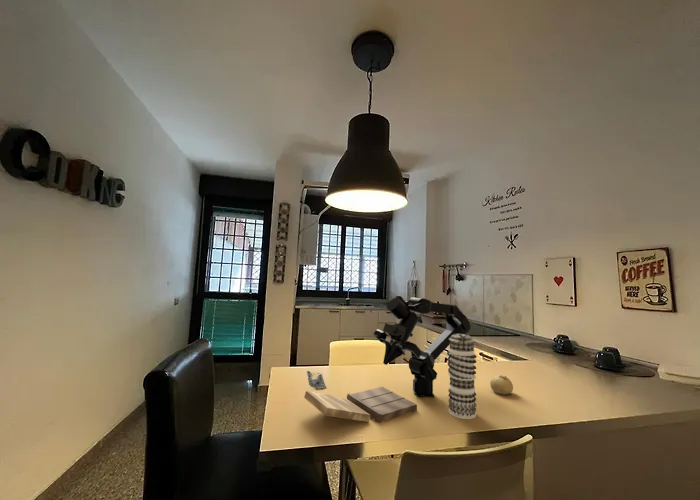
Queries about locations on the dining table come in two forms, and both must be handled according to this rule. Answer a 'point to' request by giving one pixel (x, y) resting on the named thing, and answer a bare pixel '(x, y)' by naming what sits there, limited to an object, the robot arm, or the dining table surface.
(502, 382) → the onion
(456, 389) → the white patterned tower
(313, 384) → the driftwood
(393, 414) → the wooden panel
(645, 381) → the dining table surface
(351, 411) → the plank
